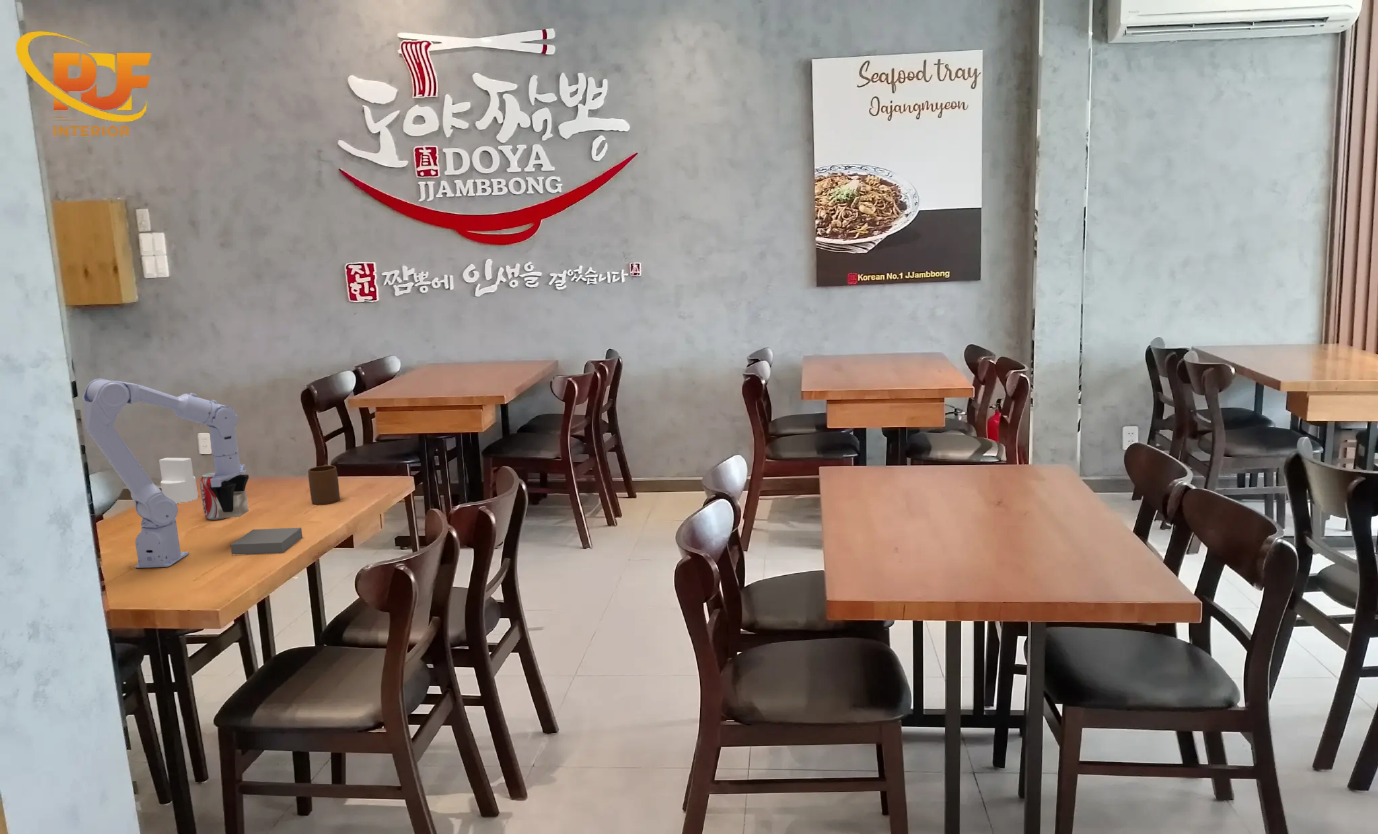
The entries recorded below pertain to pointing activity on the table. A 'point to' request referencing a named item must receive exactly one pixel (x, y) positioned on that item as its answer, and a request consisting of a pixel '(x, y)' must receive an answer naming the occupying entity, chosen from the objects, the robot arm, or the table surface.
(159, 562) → the robot arm
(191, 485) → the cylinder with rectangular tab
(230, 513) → the gray block
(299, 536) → the charcoal block
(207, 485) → the soda can
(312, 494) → the mug
